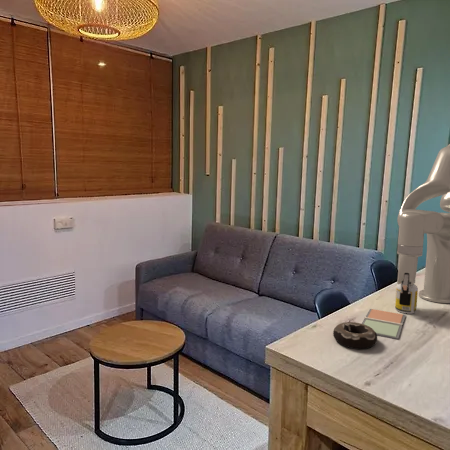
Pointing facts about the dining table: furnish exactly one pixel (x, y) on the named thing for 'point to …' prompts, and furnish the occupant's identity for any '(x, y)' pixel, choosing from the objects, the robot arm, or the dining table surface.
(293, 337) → the dining table surface
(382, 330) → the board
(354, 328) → the donut
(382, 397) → the dining table surface
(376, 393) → the dining table surface
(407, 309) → the pill bottle
